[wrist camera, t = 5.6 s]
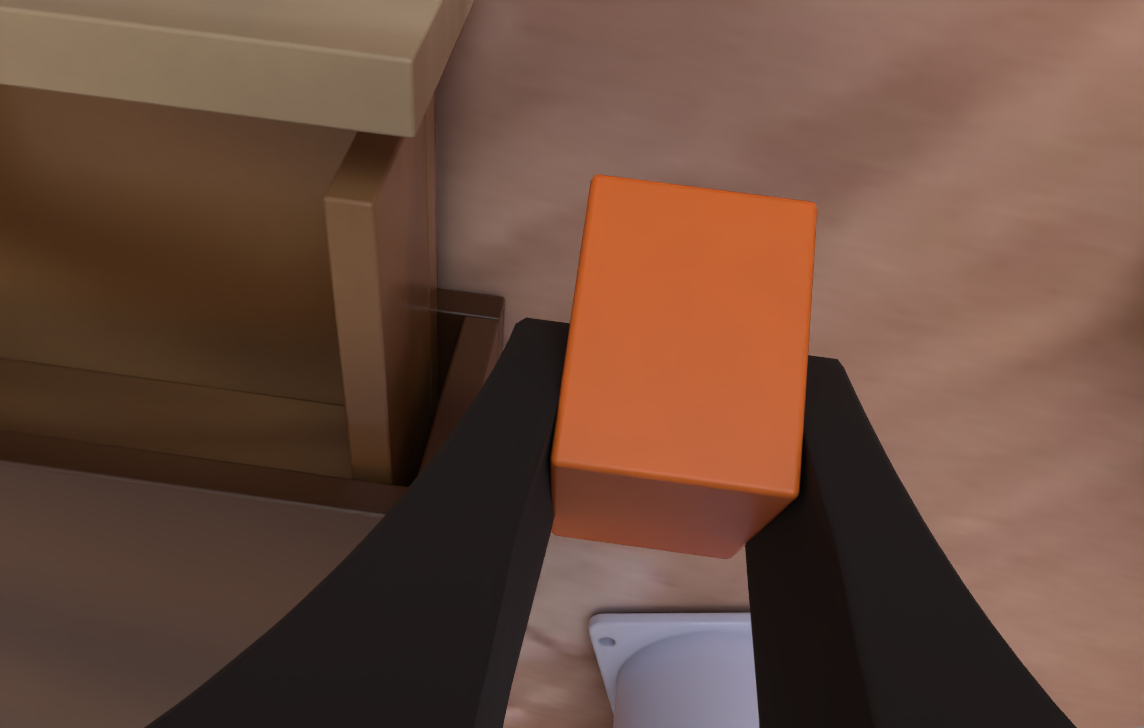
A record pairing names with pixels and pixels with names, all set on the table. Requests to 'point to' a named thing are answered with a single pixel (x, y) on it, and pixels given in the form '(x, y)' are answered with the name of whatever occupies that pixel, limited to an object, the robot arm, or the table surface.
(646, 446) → the block
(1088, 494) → the table surface
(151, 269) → the drawer
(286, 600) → the cabinet
